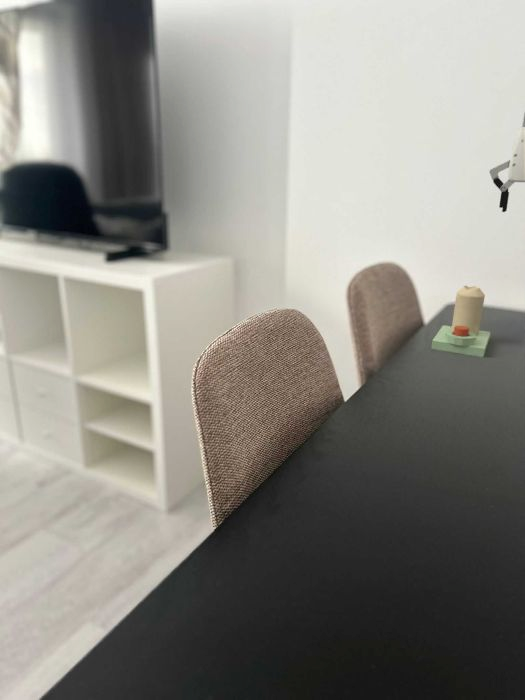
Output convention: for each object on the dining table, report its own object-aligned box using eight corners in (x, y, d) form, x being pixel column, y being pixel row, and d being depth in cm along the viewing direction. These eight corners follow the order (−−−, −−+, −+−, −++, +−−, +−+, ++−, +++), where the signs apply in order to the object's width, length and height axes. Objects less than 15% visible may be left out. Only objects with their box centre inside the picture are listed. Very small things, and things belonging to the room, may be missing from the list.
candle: (446, 332, 111) (453, 286, 107) (458, 327, 114) (465, 283, 111) (471, 337, 107) (479, 290, 104) (482, 332, 111) (490, 287, 107)
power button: (468, 335, 105) (470, 326, 104) (467, 338, 102) (468, 330, 102) (454, 332, 106) (455, 324, 105) (452, 336, 103) (453, 328, 103)
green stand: (489, 340, 112) (491, 324, 111) (483, 358, 101) (485, 341, 99) (441, 333, 116) (443, 318, 115) (430, 350, 105) (432, 333, 104)
